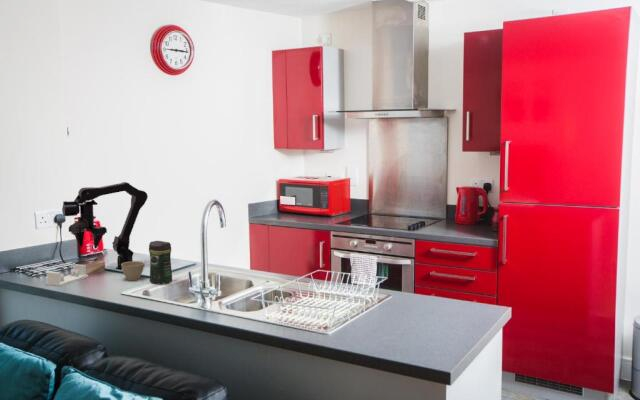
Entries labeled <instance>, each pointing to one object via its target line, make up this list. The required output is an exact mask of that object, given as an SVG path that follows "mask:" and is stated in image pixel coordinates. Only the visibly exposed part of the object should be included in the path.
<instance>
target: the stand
mask: <svg viewBox="0 0 640 400" xmlns="http://www.w3.org/2000/svg"><path fill="white" fill-rule="evenodd" d="M72 266H73V268H71V269H70V273H71V274H68V275H65V274H64V273H62V272H57V271H47V272H46V273H47V274H46V275H47V281H46V282H45V284H46V285H48V286H54V287H55V286H56V287H63V286H66V285H69V284H72V283H75V282H78V281H81V280H83V279H87V278H89V276H88V275H87V274H86V264H77V263H75V264H73V265H72Z"/></svg>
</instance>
